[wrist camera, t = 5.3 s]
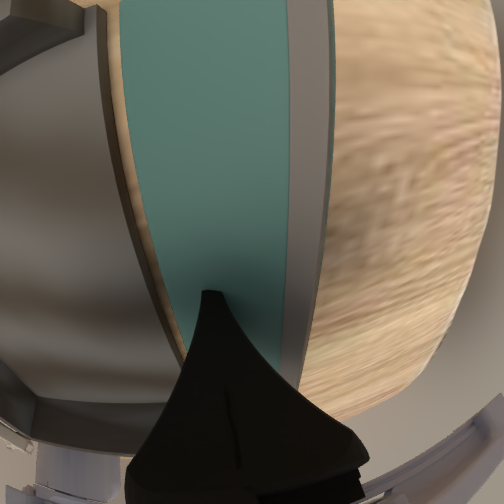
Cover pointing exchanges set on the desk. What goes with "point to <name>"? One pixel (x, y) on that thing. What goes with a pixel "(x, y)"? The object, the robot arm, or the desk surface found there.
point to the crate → (72, 245)
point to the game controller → (15, 440)
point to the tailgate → (235, 157)
